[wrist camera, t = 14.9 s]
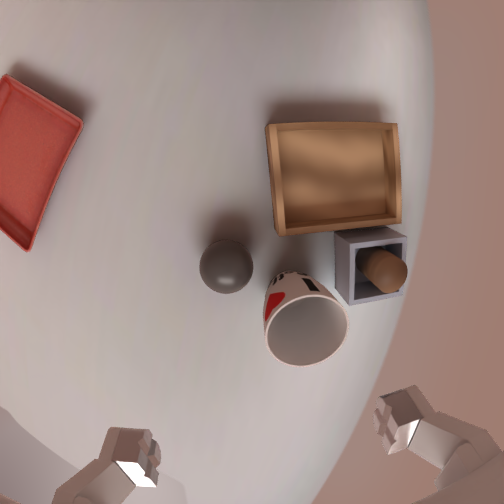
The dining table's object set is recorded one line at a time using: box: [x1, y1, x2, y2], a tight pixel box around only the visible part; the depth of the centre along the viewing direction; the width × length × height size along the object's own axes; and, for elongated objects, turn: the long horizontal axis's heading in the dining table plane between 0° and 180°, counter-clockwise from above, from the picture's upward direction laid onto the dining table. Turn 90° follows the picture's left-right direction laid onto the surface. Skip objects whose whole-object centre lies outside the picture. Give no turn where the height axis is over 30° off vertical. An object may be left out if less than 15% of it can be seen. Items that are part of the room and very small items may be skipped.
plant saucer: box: [0, 74, 84, 252], centre depth 27 cm, size 18×18×3 cm
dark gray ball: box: [200, 240, 253, 294], centre depth 32 cm, size 6×6×6 cm
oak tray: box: [265, 122, 402, 237], centre depth 31 cm, size 11×14×4 cm
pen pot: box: [334, 227, 407, 306], centre depth 33 cm, size 7×7×5 cm
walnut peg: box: [355, 246, 407, 293], centre depth 32 cm, size 4×4×6 cm
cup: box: [263, 271, 349, 367], centre depth 32 cm, size 8×8×10 cm
